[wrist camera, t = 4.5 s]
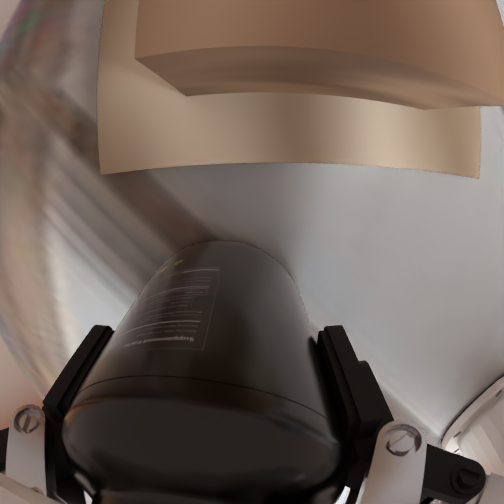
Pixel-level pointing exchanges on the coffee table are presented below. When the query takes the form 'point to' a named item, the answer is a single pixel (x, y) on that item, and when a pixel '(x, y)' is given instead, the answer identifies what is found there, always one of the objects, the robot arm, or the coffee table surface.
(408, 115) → the board
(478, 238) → the coffee table surface
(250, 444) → the supplement bottle
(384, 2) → the walnut block
